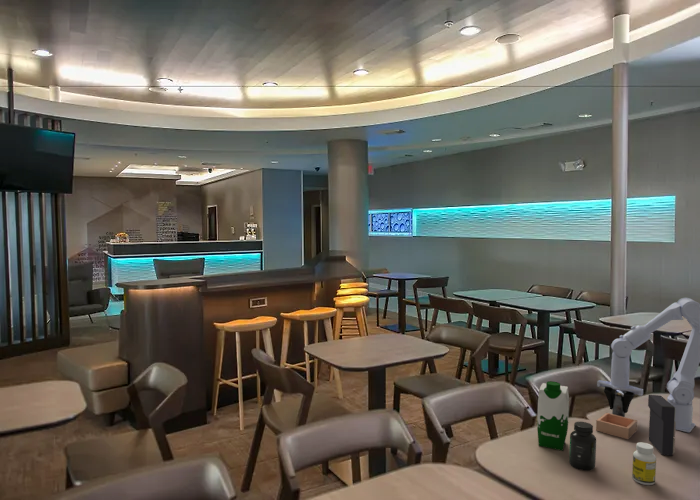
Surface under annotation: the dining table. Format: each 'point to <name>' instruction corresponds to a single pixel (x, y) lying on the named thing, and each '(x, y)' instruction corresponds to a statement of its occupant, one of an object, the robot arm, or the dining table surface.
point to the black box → (662, 424)
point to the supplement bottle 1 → (582, 447)
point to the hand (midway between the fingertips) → (618, 410)
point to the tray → (616, 425)
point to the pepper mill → (618, 404)
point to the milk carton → (552, 415)
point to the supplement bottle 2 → (644, 464)
